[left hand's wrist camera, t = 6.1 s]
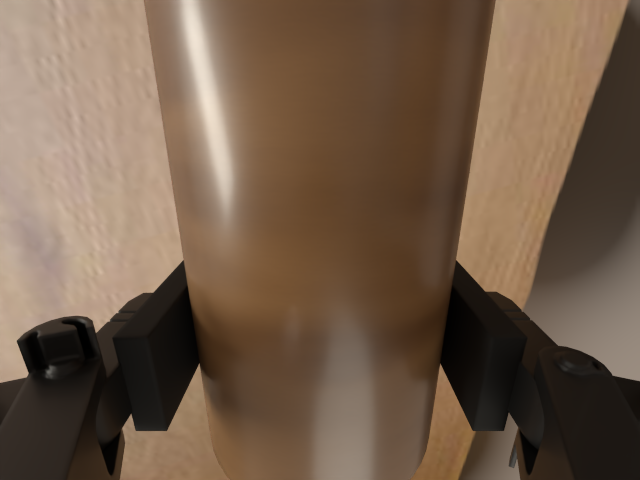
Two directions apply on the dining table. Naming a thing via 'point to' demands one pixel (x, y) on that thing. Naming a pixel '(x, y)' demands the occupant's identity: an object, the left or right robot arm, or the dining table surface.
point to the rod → (319, 218)
